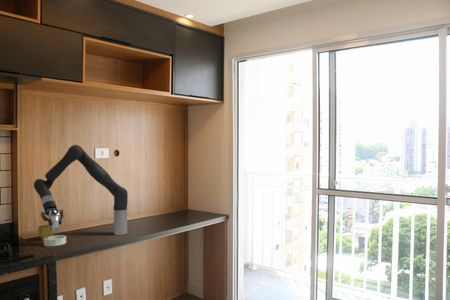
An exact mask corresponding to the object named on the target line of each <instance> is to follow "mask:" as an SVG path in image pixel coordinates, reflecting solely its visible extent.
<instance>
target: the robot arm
mask: <svg viewBox="0 0 450 300" xmlns="http://www.w3.org/2000/svg"><path fill="white" fill-rule="evenodd" d="M75 161H78V162H79V163H80V164H81V165H82V166H83V168H84V169H85V171H86V172H87V173H88V175H90V177H92V178H93V180H95V181H96V182H97V183H99V184H100V185H101V186H103V187H104V188H105V189H106V190H108V192H109V193H110V194H111V195H112V196H113V235H115V236H122V235H126V234H128V198H129V197H128V196H129V195H128V191H127V190H128V189H126V188H125V187H122V186H121V185H120V184H118V183H117V182H115V180H114V179H113V178H112V177H111V176H110V174H109V173H108V172H107V170H105V169H104V167H102V166H101V165H100V164H99V163H97V162H96V161H95V160H94V159H93V158H91V156H90V155H89V154H88V153H87V152H86V151H85V150H84V149H83V147H82V146H81V145H78V144H74V145H73V144H72V145H71V146H69V147H68V149H67V151H66V153H65V154H64V155H63V157H62V158H61V159H60V160H59V161H58V162H57V163H56V164H55V165H53V166H52V167H51V168H50V169H49V170H48V171H47V172H46V173H45V175H44V177H45V178H46V180H44V179H42V178H37V179H35V181H34V183H33V188H34V190H35V191H36V193H37V194H38V196H39V199H40V201H41V206H42V208H43V210H44V211H41V212H40V214H39V215H40V217H41V218H42V220H43V222H47V223H48V224H47V225H50V226H52V221H51V219H50V216H51V215H54V214H59V226H60V225H62V224H63V221H62V220H63V219H64V210H63V209H60V210H59V209H58V208H57V204H56V201H55V199H54V197H53V195H52V192H51V190H50V189H51V187H52V186H53V184H54V182H55V181H56V180H57V179H58V178H59V177H60V176H61V174H62V173H63V172H64V171H65V170H66V169H67V168H68V167H69V166H70V165H71V164H72V163H73V162H75Z"/></svg>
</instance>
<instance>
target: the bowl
mask: <svg viewBox="0 0 450 300" xmlns="http://www.w3.org/2000/svg"><path fill="white" fill-rule="evenodd" d="M65 244H67V235H64V234H63V235H59V234H58V235H53V236H49V237H45V238H44V240H43V246H44V247H58V246H63V245H65Z"/></svg>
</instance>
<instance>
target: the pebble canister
mask: <svg viewBox="0 0 450 300" xmlns="http://www.w3.org/2000/svg"><path fill="white" fill-rule="evenodd" d="M59 215H60V214H59V213H58V214H54V215H51V216H50V219H51V221H52V226H50V231H54V232H58V231H59V232H60V225H59Z"/></svg>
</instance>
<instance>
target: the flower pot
mask: <svg viewBox="0 0 450 300" xmlns="http://www.w3.org/2000/svg"><path fill="white" fill-rule="evenodd" d="M37 230H38V234H39V237H40V239H41V240H42V241H44V238H45V237H49V236H54V234H55V233H54V232H55V231H50V225H49V224H44V225H38V226H37Z"/></svg>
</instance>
